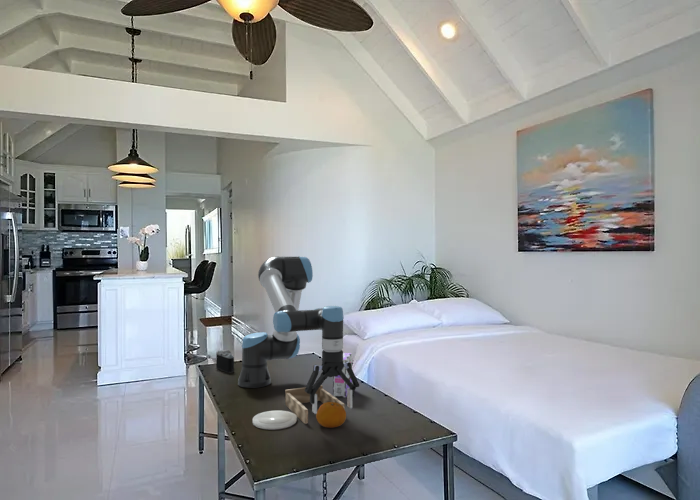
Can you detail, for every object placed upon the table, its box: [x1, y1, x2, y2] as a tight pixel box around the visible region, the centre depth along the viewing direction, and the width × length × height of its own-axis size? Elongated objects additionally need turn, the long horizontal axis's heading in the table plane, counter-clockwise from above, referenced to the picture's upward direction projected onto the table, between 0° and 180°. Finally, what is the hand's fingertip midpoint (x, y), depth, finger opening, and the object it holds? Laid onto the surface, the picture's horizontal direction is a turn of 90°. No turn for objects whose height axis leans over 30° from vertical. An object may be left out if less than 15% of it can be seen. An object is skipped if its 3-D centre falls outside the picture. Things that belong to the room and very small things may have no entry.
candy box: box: [332, 352, 353, 398], centre depth 203 cm, size 14×6×16 cm, turn 168°
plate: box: [252, 409, 298, 431], centre depth 168 cm, size 16×16×1 cm
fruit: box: [315, 402, 347, 429], centre depth 164 cm, size 10×10×8 cm
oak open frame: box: [284, 384, 346, 425], centre depth 180 cm, size 23×16×6 cm
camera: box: [215, 349, 235, 373], centre depth 243 cm, size 15×7×10 cm, turn 44°
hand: (332, 409), depth 163 cm, fingers open, 13 cm apart
